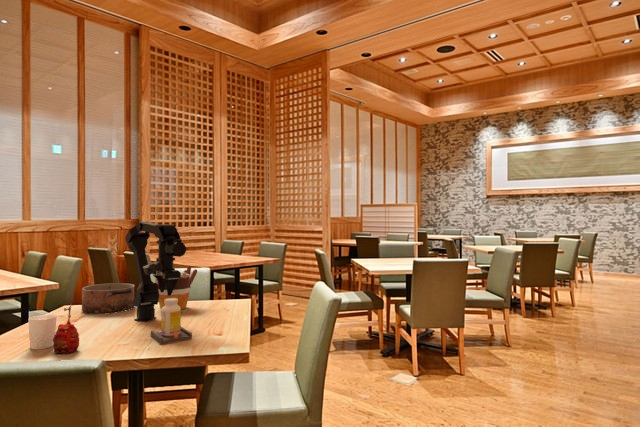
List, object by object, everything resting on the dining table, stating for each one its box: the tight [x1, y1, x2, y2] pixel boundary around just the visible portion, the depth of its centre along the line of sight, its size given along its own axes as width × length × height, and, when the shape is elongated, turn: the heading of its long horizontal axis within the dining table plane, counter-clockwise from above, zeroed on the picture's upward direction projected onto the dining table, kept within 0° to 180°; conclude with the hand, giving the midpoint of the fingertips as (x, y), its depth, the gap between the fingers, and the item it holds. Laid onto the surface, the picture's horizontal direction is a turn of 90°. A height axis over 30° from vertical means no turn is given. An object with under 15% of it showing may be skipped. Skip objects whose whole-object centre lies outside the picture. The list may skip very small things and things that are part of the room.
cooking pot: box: [81, 282, 135, 315], centre depth 200 cm, size 30×22×11 cm
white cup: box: [28, 313, 57, 351], centre depth 141 cm, size 8×8×10 cm
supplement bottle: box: [160, 298, 182, 336], centre depth 152 cm, size 7×7×13 cm
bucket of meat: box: [154, 265, 198, 311], centre depth 201 cm, size 20×16×20 cm
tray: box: [150, 326, 193, 345], centre depth 152 cm, size 12×11×3 cm
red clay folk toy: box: [52, 303, 80, 355], centre depth 136 cm, size 8×7×15 cm
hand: (165, 293), depth 168 cm, fingers open, 9 cm apart
